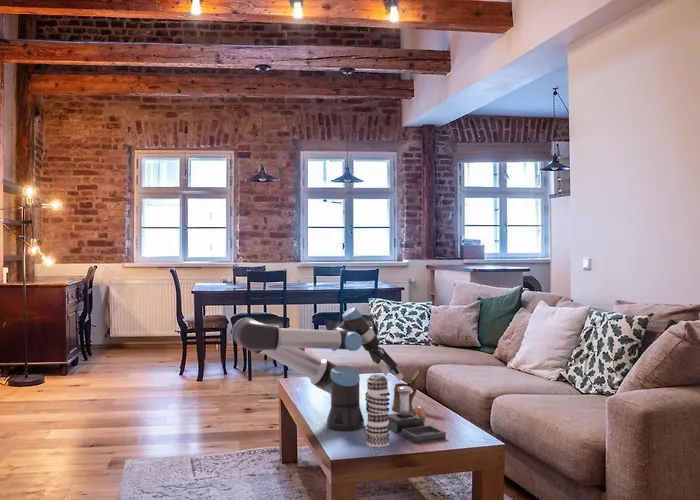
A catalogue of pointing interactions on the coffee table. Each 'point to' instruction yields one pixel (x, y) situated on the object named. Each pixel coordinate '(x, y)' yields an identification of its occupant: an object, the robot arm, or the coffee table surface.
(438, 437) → the tray
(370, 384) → the decorative candle
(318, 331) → the robot arm
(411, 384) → the wooden mug
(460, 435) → the coffee table surface
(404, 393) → the lock pin
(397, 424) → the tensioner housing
